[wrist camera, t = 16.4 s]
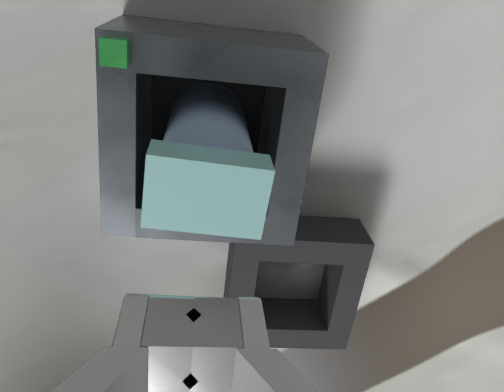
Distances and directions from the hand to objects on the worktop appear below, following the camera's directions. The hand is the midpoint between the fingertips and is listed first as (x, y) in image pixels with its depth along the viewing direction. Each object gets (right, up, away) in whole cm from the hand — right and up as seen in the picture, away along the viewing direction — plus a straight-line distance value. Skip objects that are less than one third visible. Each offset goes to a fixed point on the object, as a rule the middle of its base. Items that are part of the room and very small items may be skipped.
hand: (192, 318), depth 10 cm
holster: (+4, -2, +19) cm, 20 cm away
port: (-1, +7, +14) cm, 16 cm away
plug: (-1, +7, +15) cm, 16 cm away
